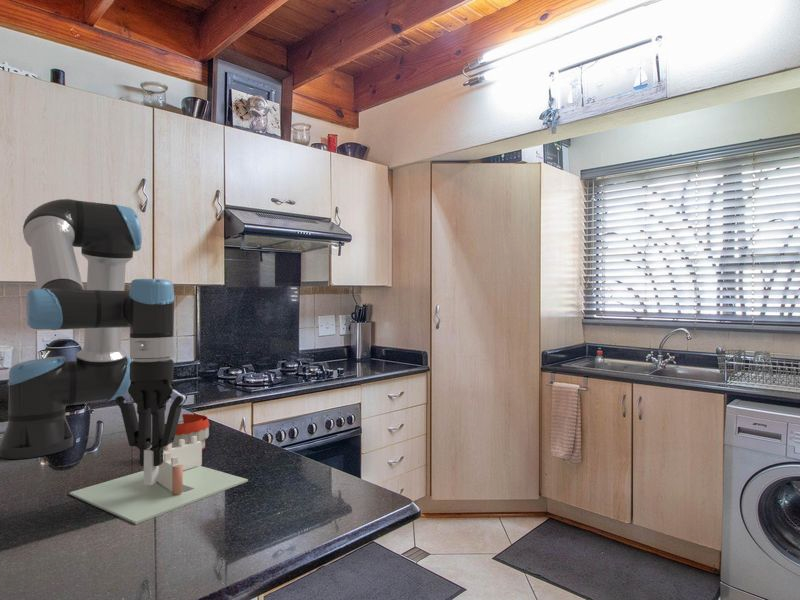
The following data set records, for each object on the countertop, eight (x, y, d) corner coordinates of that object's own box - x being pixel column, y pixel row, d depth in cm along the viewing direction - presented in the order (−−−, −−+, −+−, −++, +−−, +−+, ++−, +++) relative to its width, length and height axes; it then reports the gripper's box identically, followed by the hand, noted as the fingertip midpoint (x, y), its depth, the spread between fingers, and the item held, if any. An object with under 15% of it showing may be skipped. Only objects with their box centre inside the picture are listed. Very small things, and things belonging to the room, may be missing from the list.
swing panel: (153, 480, 97) (153, 448, 97) (162, 477, 98) (162, 447, 98) (174, 495, 89) (174, 461, 89) (184, 492, 90) (184, 458, 90)
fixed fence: (147, 481, 98) (148, 442, 98) (197, 465, 108) (197, 430, 108) (153, 483, 97) (153, 444, 97) (202, 467, 107) (202, 431, 107)
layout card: (69, 494, 91) (69, 491, 91) (180, 461, 111) (180, 459, 111) (135, 524, 78) (135, 521, 78) (247, 481, 98) (248, 479, 98)
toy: (189, 460, 112) (189, 426, 112) (151, 458, 114) (151, 425, 114) (219, 445, 124) (219, 415, 124) (184, 443, 126) (184, 413, 126)
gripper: (106, 361, 87) (105, 490, 86) (176, 361, 87) (176, 489, 86) (129, 357, 94) (128, 475, 94) (194, 357, 94) (194, 475, 94)
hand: (151, 482), depth 90 cm, fingers closed
